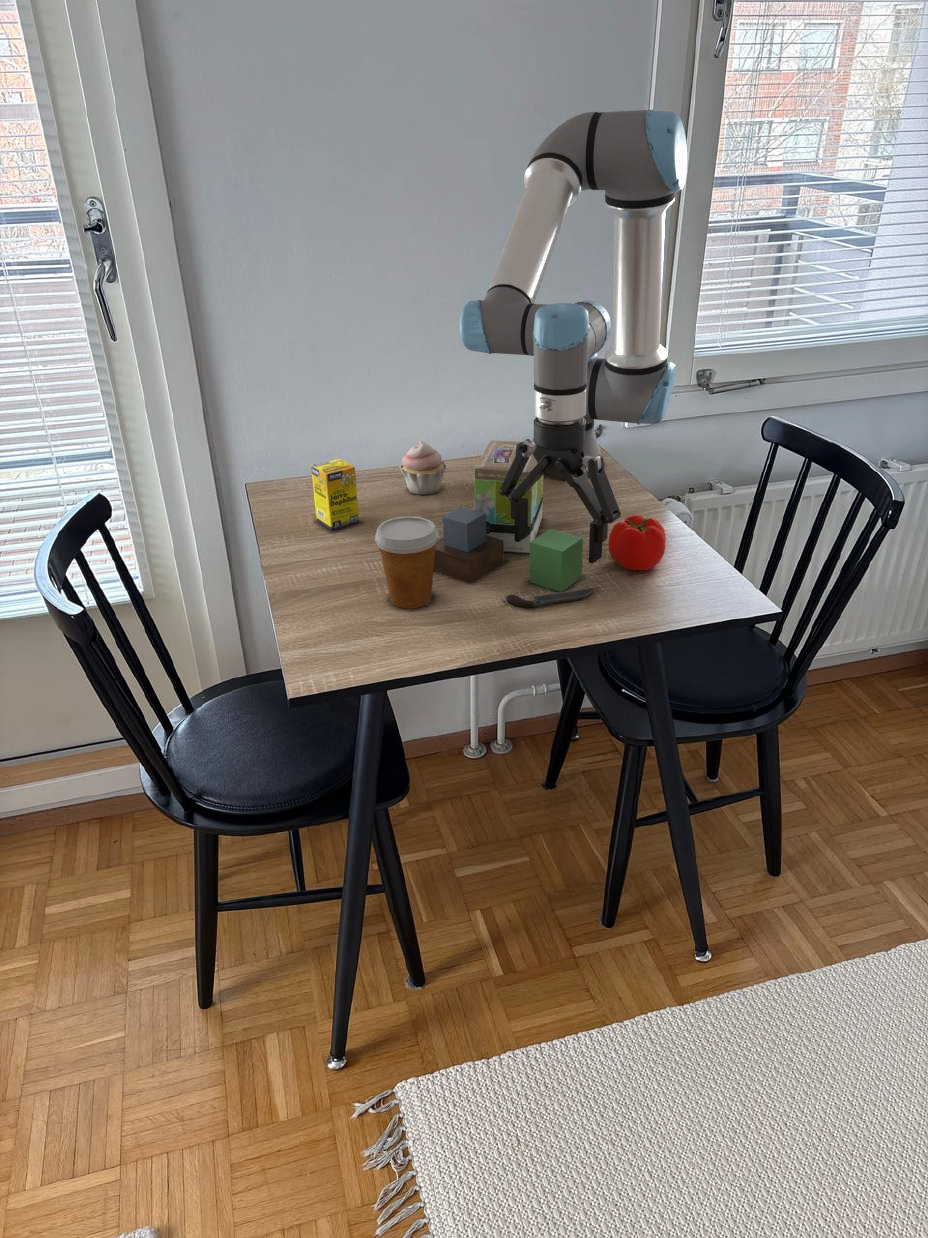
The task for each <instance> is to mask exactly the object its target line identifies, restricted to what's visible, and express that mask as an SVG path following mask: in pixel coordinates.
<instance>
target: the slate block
mask: <svg viewBox="0 0 928 1238" xmlns="http://www.w3.org/2000/svg"><path fill="white" fill-rule="evenodd" d="M441 520H442V538H443V541H444V545H445V546H449V547H452V548H455V549H458V550H462V551H465V552H470V551H471V550H473V549H475V548H476V547H478V546H480V545H481V544H483V543H484V542H486V513H483V512H479V511H475V509H473V508H468V507H465V506H460V507H458V508H456V509H454V510H452V511H451V512H448V513H447V514H445V515H443V516H442V519H441Z"/></svg>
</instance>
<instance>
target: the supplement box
mask: <svg viewBox="0 0 928 1238" xmlns="http://www.w3.org/2000/svg"><path fill="white" fill-rule="evenodd" d="M310 471H311V472H310V473H311V480H312V481H311V482H312V489H313V498H314V499H313V500H314V507H315V509H314V510H315V519H316V522H318V523H319V524H321V525H322V526H323V527H325V528H327V529H329V530H330V531H331V532H333V531H336V530H339V529H342V528H345V527H346V528H347V527H350V526H352V525H357V524H360V513H359V501H358V492H357V491H358V489H357V478H356V467H355V466H354V465H352V464H350V463H349V462H347V461H345V460H343V459H341V458H335V459H333V460H329V461H325V462H321V463H317V464H311V465H310Z"/></svg>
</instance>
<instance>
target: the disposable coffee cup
mask: <svg viewBox="0 0 928 1238" xmlns="http://www.w3.org/2000/svg"><path fill="white" fill-rule="evenodd" d="M437 540H439V531H438V530H437V528H436V525H435V523H434V522H433V521H432V520H430V519H428V518H424V517H421V516H415V515H414V516H412V515H411V516H409V515H407V516H398V517H397V516H396V517H393V518H390V519H386V520H385V521H383V522H381V523H380V524H379V525H378V526H377V529H376V533H375V535H374V541H375V543H376V545H377V547H378V549H379V550H378V551H379V555H380V559H381V563H382V567H383V572H384V575H385V581H386V586H387V590H388V595H389V599H390V603H391V604H392V605H393V606H395V607H397V608H401V609H418V608H421V607H424V606H426V605H428V604H429V603H430V602H431V600H432V593H433V580H434V571H433V570H434V557H435V545H436V542H437Z"/></svg>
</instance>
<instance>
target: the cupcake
mask: <svg viewBox="0 0 928 1238" xmlns="http://www.w3.org/2000/svg"><path fill="white" fill-rule="evenodd" d="M401 463H402V464H401V465H399V466H398V468H399V469H400V472H401V474H402V475H403V476H404V480H405V483H406V487H407V489H408V491H409V492H410V493H411V494H414V495H419V496H420V495H421V496H424V495H425V496H426V495H432V494H435V493H438V492H439V491H440V489H441V487H442V481H443V479H444V474H445V472H446V469H447V467H448V466H447V464H446V461H443V457H442V456H441V454H440V452H439V451H438V450H436V449H435V448H433V447H432V446H431V444H429V443H428V442H426V441H423V440H421V439H420V440H419V441H418V444H417V445H415V446H413V447H411V448H410V449H409V450H408V451H407V452H406V454H405V455H404V456H403V457H402V460H401Z"/></svg>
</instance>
